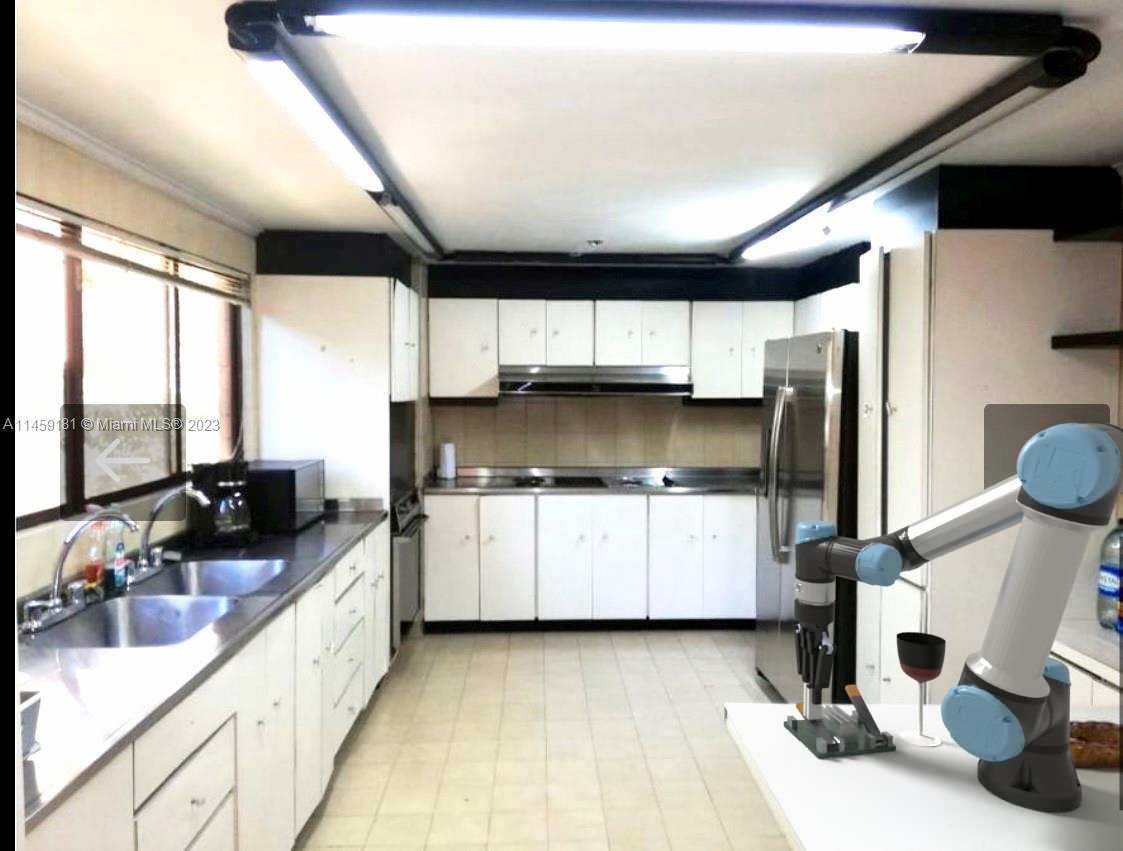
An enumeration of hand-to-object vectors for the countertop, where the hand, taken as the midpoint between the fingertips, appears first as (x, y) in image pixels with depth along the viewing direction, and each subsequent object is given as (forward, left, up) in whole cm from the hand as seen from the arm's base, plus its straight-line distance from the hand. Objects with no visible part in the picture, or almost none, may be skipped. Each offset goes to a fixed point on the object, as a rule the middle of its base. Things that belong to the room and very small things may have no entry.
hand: (812, 716), depth 143 cm
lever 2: (-1, -10, 0) cm, 10 cm away
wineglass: (-4, -21, -5) cm, 22 cm away
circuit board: (-1, -5, -5) cm, 7 cm away
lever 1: (-1, 0, -2) cm, 2 cm away
